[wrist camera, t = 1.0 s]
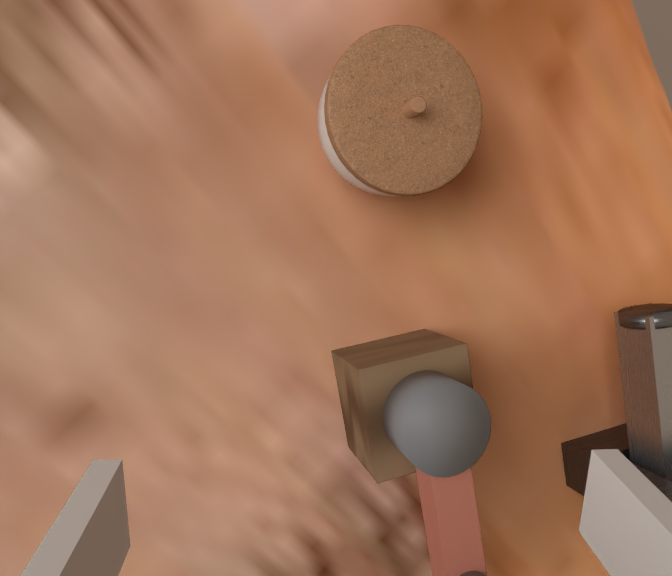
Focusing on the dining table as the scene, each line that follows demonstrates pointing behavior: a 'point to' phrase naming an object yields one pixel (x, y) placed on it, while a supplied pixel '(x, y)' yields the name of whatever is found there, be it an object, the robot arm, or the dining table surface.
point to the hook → (647, 383)
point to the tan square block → (389, 390)
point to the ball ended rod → (443, 463)
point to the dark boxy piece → (580, 449)
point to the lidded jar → (400, 112)
